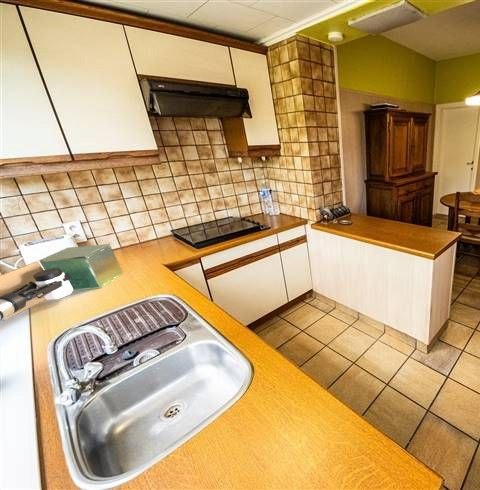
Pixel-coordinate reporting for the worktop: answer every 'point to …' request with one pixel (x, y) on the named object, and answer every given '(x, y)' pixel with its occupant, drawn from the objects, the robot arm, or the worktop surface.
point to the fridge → (86, 265)
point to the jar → (51, 276)
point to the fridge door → (20, 283)
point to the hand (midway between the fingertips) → (60, 276)
